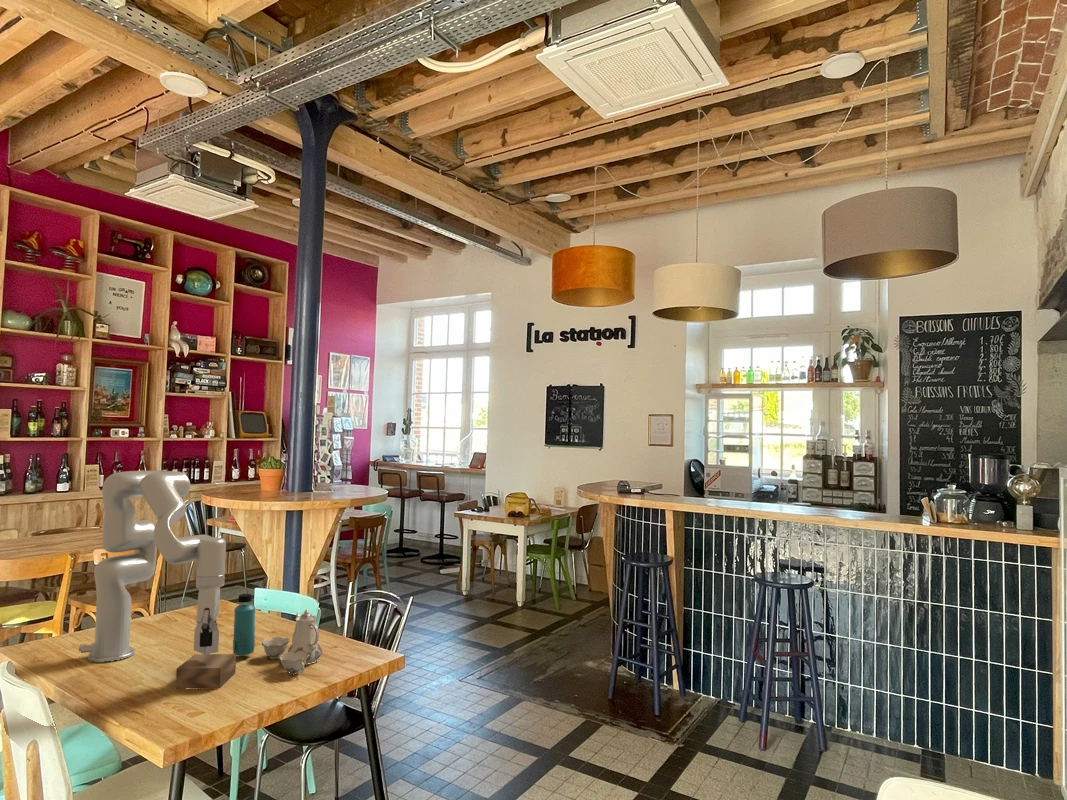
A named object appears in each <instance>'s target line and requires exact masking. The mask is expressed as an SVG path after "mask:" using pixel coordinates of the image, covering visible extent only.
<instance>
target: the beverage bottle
mask: <svg viewBox="0 0 1067 800" xmlns="http://www.w3.org/2000/svg"><path fill="white" fill-rule="evenodd" d="M252 601H253V595H252V593H241V594H239V595H238V599H237V602H238V603H241V604H238V605H237V606H236V607H235V608H234V620H233V621H234V622H233V639H232V654H236V656H238V657H239V656H248V655H251V654H253V653H254V652H255V646H256V643H255V642H256V639H255V638H256V635H255V634H256V633H255V632H256V625H255V624H256V606H254V605H253V604H252V603H250V602H252Z"/></svg>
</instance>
